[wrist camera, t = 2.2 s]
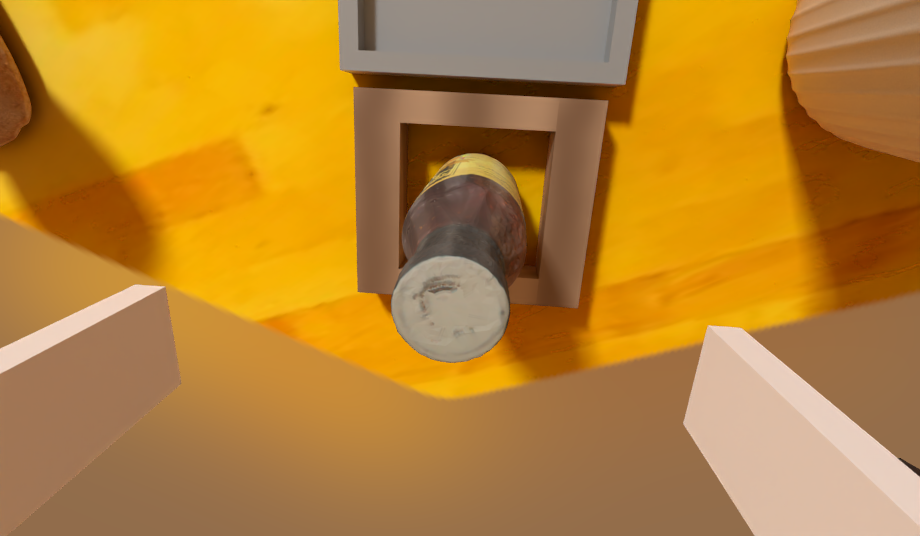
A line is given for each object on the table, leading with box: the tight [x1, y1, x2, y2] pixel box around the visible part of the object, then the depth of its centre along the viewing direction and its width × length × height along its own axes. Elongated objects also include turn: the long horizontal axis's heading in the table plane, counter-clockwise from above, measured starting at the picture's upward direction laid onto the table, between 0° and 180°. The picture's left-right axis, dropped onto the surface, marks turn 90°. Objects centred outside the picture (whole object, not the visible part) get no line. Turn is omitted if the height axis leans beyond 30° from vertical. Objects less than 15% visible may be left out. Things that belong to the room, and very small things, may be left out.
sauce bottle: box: [391, 153, 527, 363], centre depth 24 cm, size 6×6×20 cm
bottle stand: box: [354, 87, 608, 308], centre depth 32 cm, size 16×14×3 cm
